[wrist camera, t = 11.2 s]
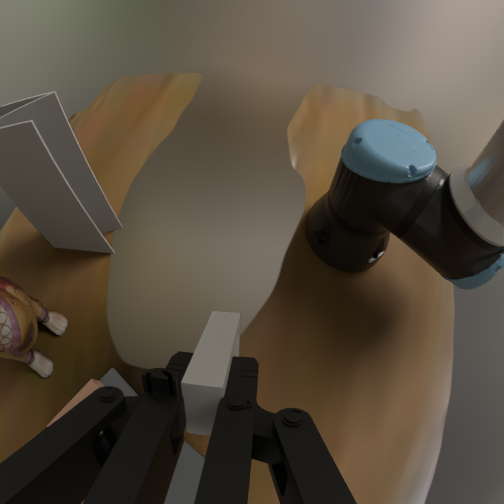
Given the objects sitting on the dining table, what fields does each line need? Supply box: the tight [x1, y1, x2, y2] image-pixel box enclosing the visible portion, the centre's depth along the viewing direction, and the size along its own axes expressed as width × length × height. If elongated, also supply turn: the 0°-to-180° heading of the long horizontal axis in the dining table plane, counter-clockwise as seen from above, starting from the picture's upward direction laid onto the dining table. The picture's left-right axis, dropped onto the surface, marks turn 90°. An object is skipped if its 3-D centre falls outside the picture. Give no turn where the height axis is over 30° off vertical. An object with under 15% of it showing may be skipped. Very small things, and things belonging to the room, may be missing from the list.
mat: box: [100, 368, 205, 504], centre depth 33 cm, size 24×18×1 cm
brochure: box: [0, 91, 122, 254], centre depth 37 cm, size 14×6×30 cm, turn 86°
